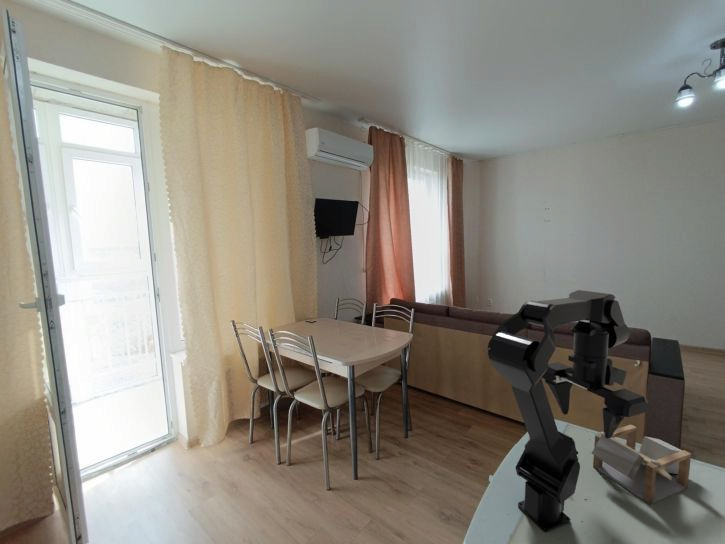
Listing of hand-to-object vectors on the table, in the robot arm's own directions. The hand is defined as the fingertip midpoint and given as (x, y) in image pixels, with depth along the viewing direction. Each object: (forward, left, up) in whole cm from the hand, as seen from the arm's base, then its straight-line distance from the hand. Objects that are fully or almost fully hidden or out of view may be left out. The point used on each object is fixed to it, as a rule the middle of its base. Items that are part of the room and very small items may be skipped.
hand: (585, 425), depth 69 cm
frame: (+13, -3, -13) cm, 19 cm away
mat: (+13, -3, -13) cm, 19 cm away
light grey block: (+17, -3, -9) cm, 20 cm away
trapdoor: (+8, -3, -12) cm, 15 cm away
